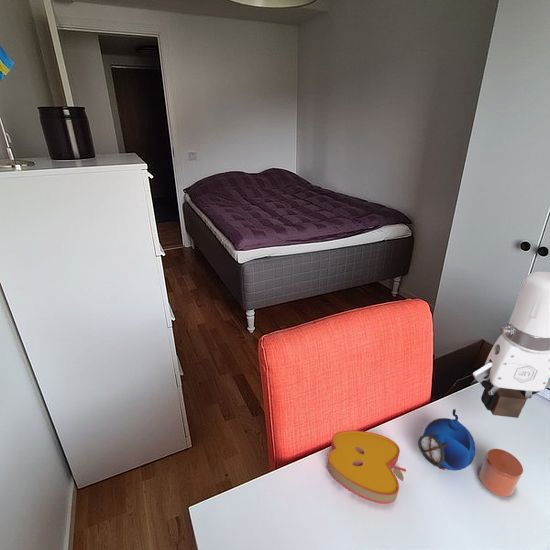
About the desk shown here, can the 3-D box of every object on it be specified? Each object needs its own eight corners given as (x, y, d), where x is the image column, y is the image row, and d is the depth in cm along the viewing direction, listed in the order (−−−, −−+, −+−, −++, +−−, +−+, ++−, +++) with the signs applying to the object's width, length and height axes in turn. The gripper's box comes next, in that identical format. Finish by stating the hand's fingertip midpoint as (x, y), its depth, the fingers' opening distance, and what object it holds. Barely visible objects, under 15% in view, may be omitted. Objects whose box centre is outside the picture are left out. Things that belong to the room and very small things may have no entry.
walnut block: (506, 400, 75) (513, 382, 73) (518, 418, 70) (526, 399, 68) (482, 397, 75) (489, 379, 73) (492, 415, 71) (500, 396, 69)
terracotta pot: (504, 470, 72) (513, 450, 69) (519, 498, 66) (529, 478, 64) (474, 466, 72) (482, 446, 70) (486, 494, 67) (496, 474, 64)
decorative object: (321, 488, 67) (402, 516, 62) (323, 475, 65) (406, 503, 61) (334, 434, 79) (402, 455, 74) (336, 421, 77) (406, 442, 73)
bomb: (405, 451, 75) (419, 399, 69) (440, 434, 79) (456, 384, 73) (442, 491, 67) (461, 436, 61) (478, 470, 72) (500, 417, 65)
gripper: (491, 342, 63) (465, 415, 70) (591, 351, 61) (553, 425, 69) (474, 320, 69) (452, 389, 77) (564, 328, 68) (532, 398, 75)
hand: (500, 406), depth 73 cm, fingers closed on walnut block, 5 cm apart
